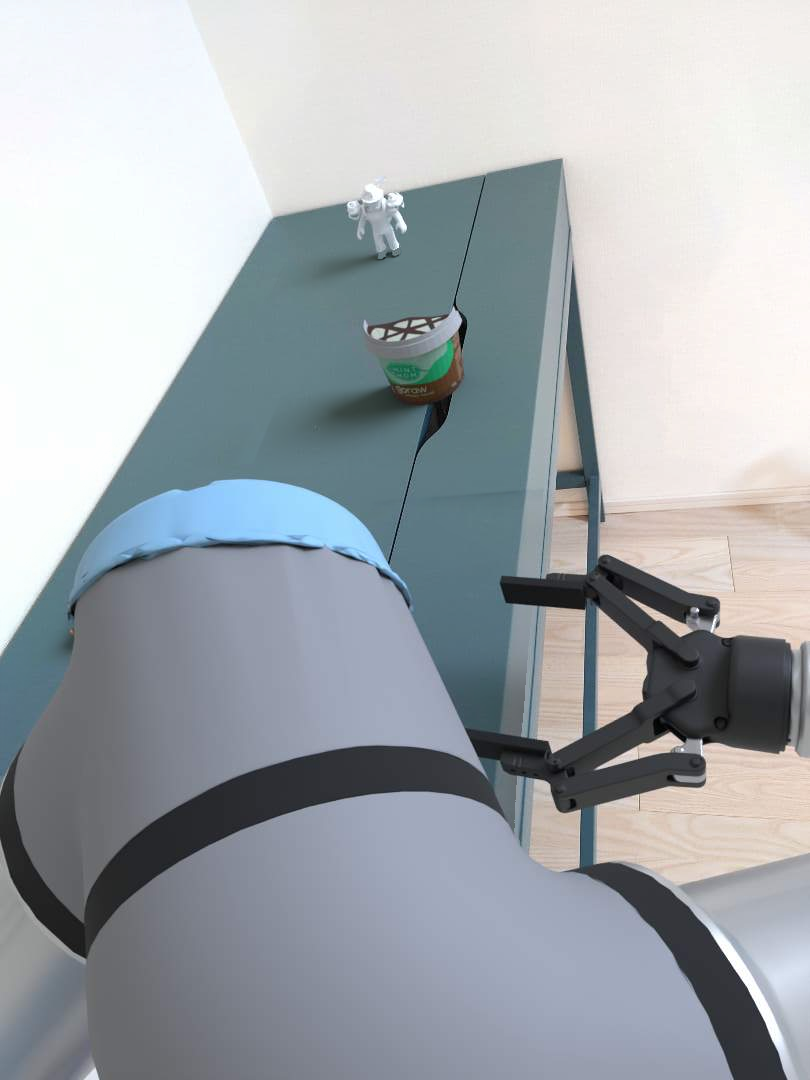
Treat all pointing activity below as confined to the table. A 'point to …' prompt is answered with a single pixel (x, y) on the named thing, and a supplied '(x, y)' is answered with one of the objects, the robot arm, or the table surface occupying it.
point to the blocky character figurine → (378, 214)
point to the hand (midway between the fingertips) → (482, 660)
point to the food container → (419, 356)
